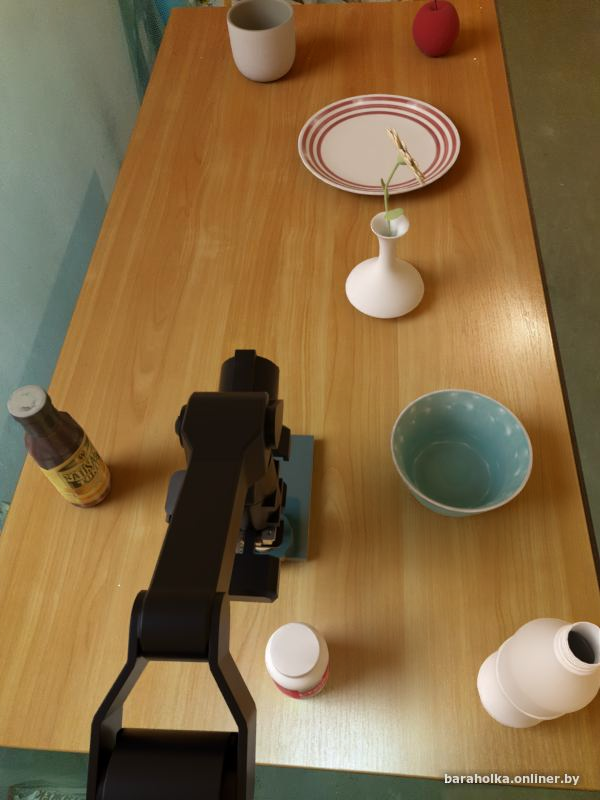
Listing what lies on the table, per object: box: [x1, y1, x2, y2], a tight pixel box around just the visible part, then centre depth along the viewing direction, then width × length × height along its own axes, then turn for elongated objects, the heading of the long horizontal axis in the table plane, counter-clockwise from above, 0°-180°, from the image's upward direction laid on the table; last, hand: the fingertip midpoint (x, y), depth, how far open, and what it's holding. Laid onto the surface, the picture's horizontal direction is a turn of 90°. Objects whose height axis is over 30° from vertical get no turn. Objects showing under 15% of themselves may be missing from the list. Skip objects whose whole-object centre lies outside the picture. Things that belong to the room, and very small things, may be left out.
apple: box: [411, 0, 461, 57], centre depth 122 cm, size 9×9×10 cm
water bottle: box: [476, 617, 600, 729], centre depth 55 cm, size 7×7×25 cm
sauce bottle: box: [6, 384, 112, 509], centre depth 72 cm, size 6×6×20 cm
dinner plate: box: [297, 93, 461, 196], centre depth 109 cm, size 27×27×3 cm
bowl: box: [389, 388, 534, 518], centre depth 75 cm, size 16×16×8 cm
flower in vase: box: [345, 127, 426, 320], centre depth 84 cm, size 13×11×25 cm
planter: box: [226, 0, 296, 83], centre depth 121 cm, size 12×12×11 cm
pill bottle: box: [264, 621, 330, 700], centre depth 63 cm, size 6×6×11 cm
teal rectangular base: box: [240, 434, 315, 563], centre depth 77 cm, size 17×10×3 cm, turn 176°
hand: (263, 534), depth 72 cm, fingers closed, pressing on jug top
